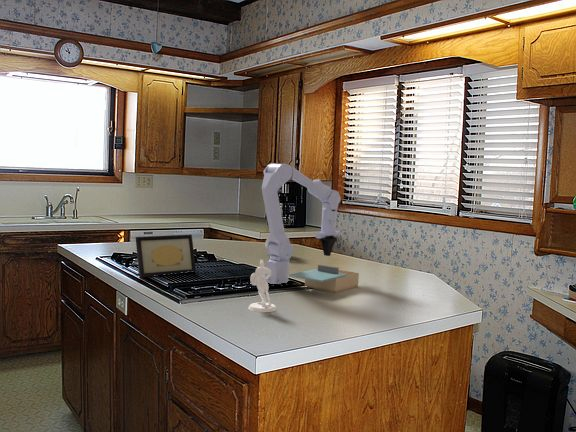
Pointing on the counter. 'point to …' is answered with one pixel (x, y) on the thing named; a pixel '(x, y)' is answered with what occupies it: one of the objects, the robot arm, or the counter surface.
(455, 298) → the counter surface
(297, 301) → the counter surface
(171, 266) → the picture frame
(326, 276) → the lid
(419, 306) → the counter surface
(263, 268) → the figurine
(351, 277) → the mailer box
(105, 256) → the counter surface
